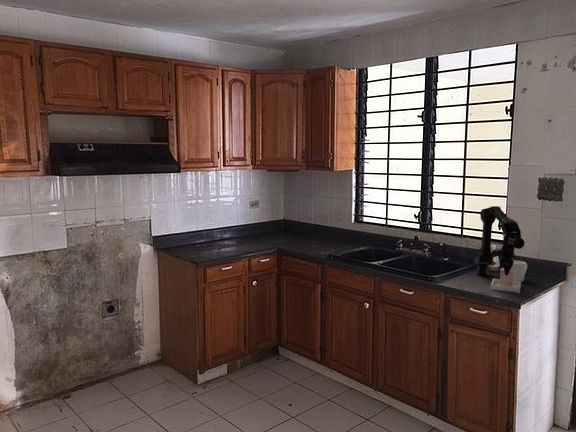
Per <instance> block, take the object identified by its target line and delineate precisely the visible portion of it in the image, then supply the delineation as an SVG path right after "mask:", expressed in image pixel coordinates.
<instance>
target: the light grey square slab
mask: <svg viewBox="0 0 576 432" xmlns="http://www.w3.org/2000/svg"><path fill="white" fill-rule="evenodd" d="M499 285H500V278H492V281H491V283H490V291H491V290H492V291H498V292H500V291H501V292H506V293H507V292H508V293H514V292H515V293H516V294H520V293H521V288H522V287H521V286H522V282H518V281H513V282H512V287H507V286H499Z"/></svg>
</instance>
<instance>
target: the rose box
mask: <svg viewBox="0 0 576 432" xmlns="http://www.w3.org/2000/svg"><path fill="white" fill-rule="evenodd" d="M499 270H500V271H499V275H500V276H499V279H508V280H512V279H513V269H511V270H510V271H509V273H508V275H507V276H506V275H505V272H504V267H501V268H500V269H499Z"/></svg>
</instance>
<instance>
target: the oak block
mask: <svg viewBox="0 0 576 432" xmlns="http://www.w3.org/2000/svg"><path fill="white" fill-rule="evenodd" d="M499 279H500V278H499ZM512 282H513V279H512V280H508V279H500V285H499V286H507V287H512Z"/></svg>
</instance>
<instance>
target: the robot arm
mask: <svg viewBox="0 0 576 432" xmlns="http://www.w3.org/2000/svg"><path fill="white" fill-rule="evenodd" d="M479 215H480V220H481V222H482V232H481V233H482V236H481V246H480V248H479V249H478V251H477V255H476V257H474V260H473V261H474V264H475V265H477V271H476V276H483V277H485V276H486V277H488V276H489V274H490V272H489V266H492V265H493V263H494V258H496V257H500V256H501V258H499V259H500V262H499V263H500V265H501V266H502V267H503V268H504V272H505V275H506V276H507V275H508V273H509V271H510V270H511V268H512V266H513V263H514V260H515V258H516V254H515V249H517V250H520V249H522V248H523V247H524V246H525V243H526V242H525V240H524V239H523V238H522V231H521V229H520V227H519V223H518V222H517V221H516V220H514V219H511V218H510V217H508V215H507V214H506V213H505V212H504V211H503V209H502V207H501V206H498V205H493V206H492V205H491V206H489V207H487V208H482V209H481V210H480V212H479ZM496 220H497V221H498V222H499V224H500V228H501V231H502V232H501V235H502V236H503V237H502V247H500V248H497V249H491V244H492V233H493V232H492V231H493V224H494V223H495V221H496Z"/></svg>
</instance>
